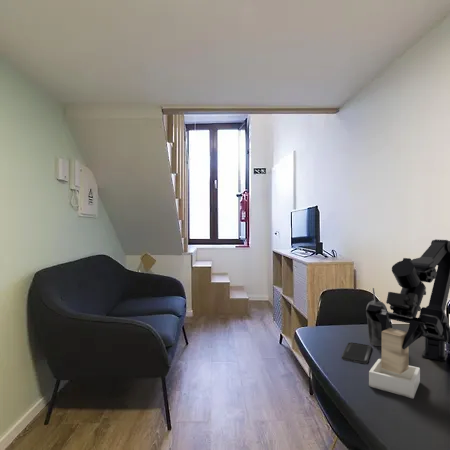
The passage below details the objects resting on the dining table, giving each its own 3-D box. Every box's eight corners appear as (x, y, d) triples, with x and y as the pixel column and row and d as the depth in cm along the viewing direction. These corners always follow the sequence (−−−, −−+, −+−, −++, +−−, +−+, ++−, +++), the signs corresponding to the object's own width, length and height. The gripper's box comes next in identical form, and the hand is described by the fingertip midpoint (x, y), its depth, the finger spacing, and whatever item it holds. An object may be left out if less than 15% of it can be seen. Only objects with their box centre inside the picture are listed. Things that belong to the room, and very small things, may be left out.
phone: (372, 345, 120) (366, 361, 106) (372, 349, 120) (366, 365, 107) (348, 341, 123) (340, 356, 110) (348, 344, 123) (340, 360, 110)
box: (378, 372, 101) (378, 358, 101) (419, 382, 95) (419, 367, 94) (368, 386, 92) (369, 371, 92) (413, 398, 86) (413, 382, 86)
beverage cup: (391, 347, 120) (391, 290, 119) (370, 347, 120) (370, 290, 120) (382, 340, 127) (382, 286, 127) (362, 340, 127) (362, 286, 127)
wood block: (389, 362, 97) (390, 327, 97) (408, 368, 93) (408, 332, 93) (381, 367, 94) (381, 331, 94) (400, 374, 90) (400, 336, 90)
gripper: (369, 276, 103) (349, 320, 96) (439, 285, 88) (421, 338, 81) (381, 298, 108) (363, 342, 101) (449, 310, 94) (434, 362, 87)
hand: (392, 345), depth 92 cm, fingers closed on wood block, 5 cm apart
